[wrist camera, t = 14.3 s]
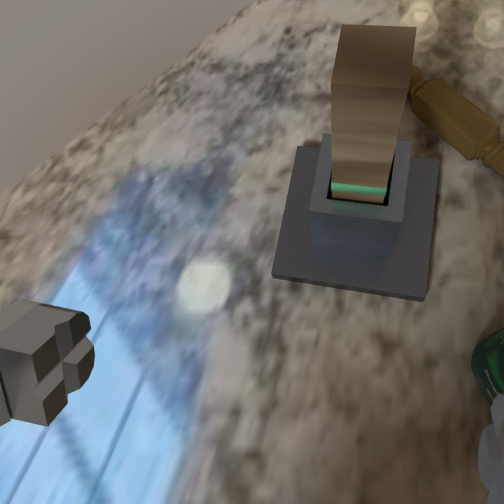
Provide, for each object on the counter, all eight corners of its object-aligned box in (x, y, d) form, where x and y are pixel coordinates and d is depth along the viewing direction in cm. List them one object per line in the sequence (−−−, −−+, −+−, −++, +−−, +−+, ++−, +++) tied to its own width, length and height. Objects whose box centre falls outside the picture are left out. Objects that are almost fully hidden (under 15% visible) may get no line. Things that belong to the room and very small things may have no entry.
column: (381, 211, 38) (409, 89, 24) (331, 205, 39) (329, 84, 25) (387, 166, 40) (417, 26, 25) (338, 162, 40) (341, 23, 26)
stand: (422, 301, 43) (445, 271, 34) (273, 278, 46) (258, 244, 37) (436, 167, 47) (460, 109, 38) (298, 153, 50) (290, 96, 41)
